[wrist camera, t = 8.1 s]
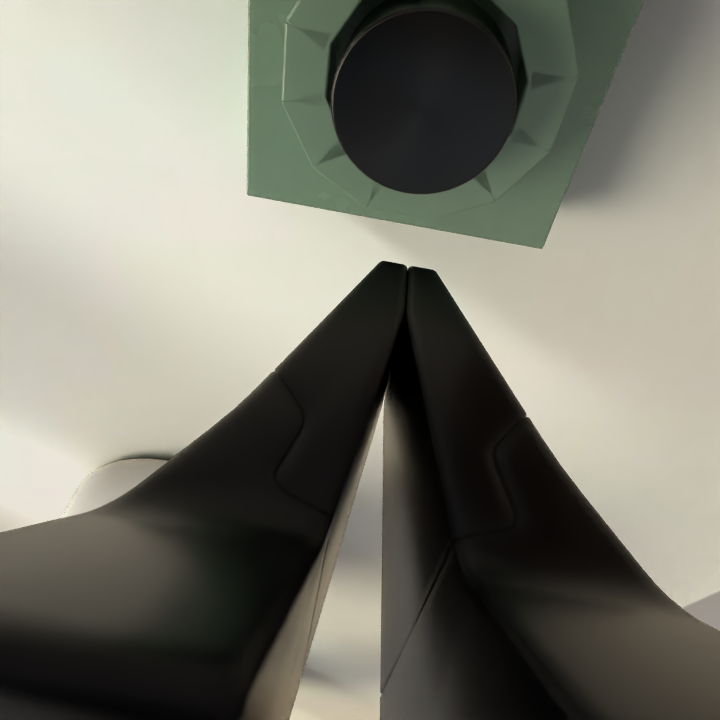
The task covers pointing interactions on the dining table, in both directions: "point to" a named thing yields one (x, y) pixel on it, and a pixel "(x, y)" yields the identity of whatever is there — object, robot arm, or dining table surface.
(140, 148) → the dining table surface
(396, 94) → the button
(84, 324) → the dining table surface
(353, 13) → the button box
